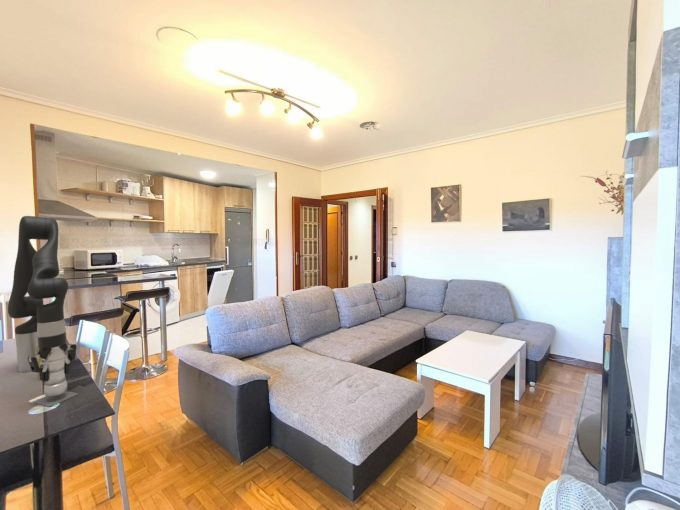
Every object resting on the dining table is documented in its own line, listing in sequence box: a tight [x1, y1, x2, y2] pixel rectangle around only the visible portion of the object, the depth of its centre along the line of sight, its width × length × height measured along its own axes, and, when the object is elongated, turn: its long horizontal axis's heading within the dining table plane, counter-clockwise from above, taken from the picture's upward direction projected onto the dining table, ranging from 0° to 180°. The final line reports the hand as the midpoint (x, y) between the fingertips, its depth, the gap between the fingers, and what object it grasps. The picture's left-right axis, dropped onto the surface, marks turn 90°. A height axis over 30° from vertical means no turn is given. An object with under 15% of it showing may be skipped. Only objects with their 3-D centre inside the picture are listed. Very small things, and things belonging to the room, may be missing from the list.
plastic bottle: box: [42, 346, 68, 397], centre depth 112 cm, size 6×7×20 cm
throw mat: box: [28, 390, 79, 408], centre depth 113 cm, size 12×9×1 cm
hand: (55, 377), depth 112 cm, fingers open, 5 cm apart
